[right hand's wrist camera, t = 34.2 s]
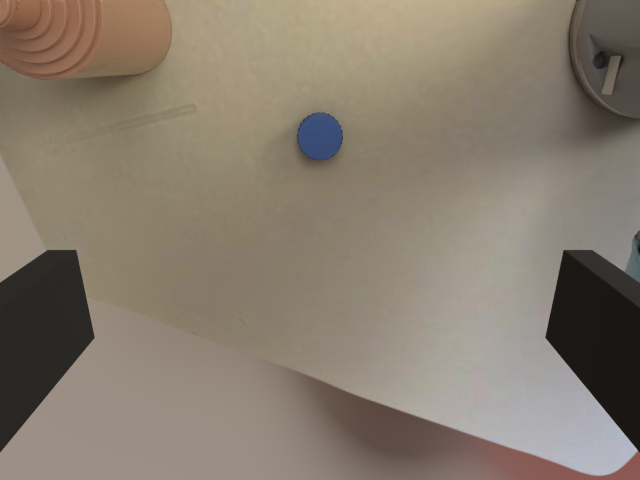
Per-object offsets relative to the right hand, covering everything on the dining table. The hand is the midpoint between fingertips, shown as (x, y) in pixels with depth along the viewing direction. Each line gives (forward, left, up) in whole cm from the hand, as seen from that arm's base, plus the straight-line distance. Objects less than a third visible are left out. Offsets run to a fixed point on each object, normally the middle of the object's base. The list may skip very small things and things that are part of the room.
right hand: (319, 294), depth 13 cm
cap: (0, 0, -29) cm, 29 cm away
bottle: (-3, -18, -30) cm, 36 cm away
